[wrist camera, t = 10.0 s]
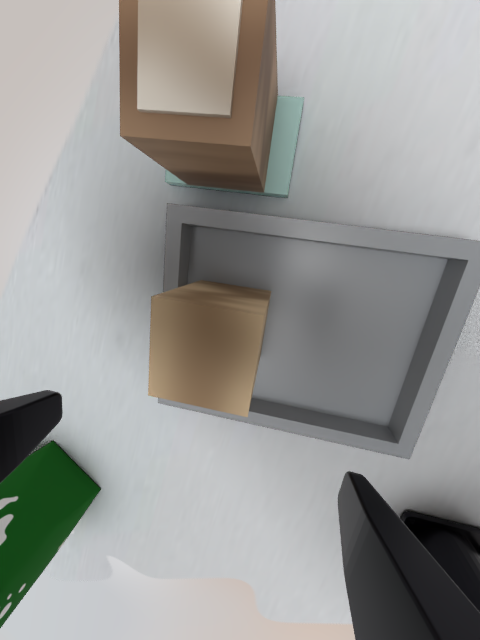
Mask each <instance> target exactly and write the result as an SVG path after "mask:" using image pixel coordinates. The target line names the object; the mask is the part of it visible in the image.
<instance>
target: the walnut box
mask: <svg viewBox="0 0 480 640" xmlns="http://www.w3.org/2000/svg"><path fill="white" fill-rule="evenodd" d="M119 43H120V136H121V137H122V138H124V139H125V140H127V141H128V142H129V143H131V144H132V145H133V146H135V147H136V148H138V149H139V150H140V151H142V152H143V153H145V154H146V155H147V156H149V157H150V158H151V159H153V160H154V161H156V162H157V163H158V164H160V165H161V166H162V167H164V168H165V169H167V170H168V171H169V172H171V173H172V174H173V175H175V176H176V177H178V178H179V179H180V180H182V181H183V182H184V183H186V184H187V185H195V186H204V187H214V188H223V189H233V190H243V191H252V192H262V193H264V190H265V183H266V176H267V169H268V162H269V154H270V147H271V140H272V133H273V126H274V119H275V112H276V105H277V97H278V89H277V52H276V14H275V0H119Z"/></svg>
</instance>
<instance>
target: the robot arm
mask: <svg viewBox="0 0 480 640" xmlns="http://www.w3.org/2000/svg"><path fill="white" fill-rule="evenodd" d="M61 418H62V396H61V394H60V393H58V392H54V391H50V390H45V391H41V392H36V393H32V394H28V395H23V396H19V397H15V398H10V399H6V400H2V401H0V483H1V482H2V481H3V480H4V479H5V478H6V477H7V476H9V475H10V474H11V473H12V472H13V471H14V470H15V469H16V468H17V467H18V466H19V465H20V464H21V463H22V462H23V461H24V460H25V459H26V457H27V456H28V455H29V454H30V453H31V452H32V451H33V450H34V449H35V448H36V447H37V446H38V445H39V443H40V442H41V441H42V440H43V439H44V438H45V437H46V436H47V435H48V434H49V433H50V432H51V430H52V429H53V428H54V427H55V426H56V425H57V424H58V423H59V422H60V420H61ZM338 511H339V522H340V534H341V546H342V557H343V567H344V576H345V582H346V588H347V594H348V600H349V605H350V611H351V617H352V622H353V628H354V634H355V639H356V640H480V529H479V528H475V527H470V526H466V525H462V524H458V523H454V522H450V521H446V520H442V519H438V518H434V517H430V516H426V515H422V514H418V513H414V512H405V513H404V514H403V515H402V518H401V519H400V518H399V517H398V516H397V514H396V513H395V512H394V511H393V510H392V508H391V507H390V506H389V505H388V504H387V503H386V501H385V500H384V499H383V498H382V497H381V496H380V494H379V493H378V492H377V491H376V490H375V488H374V487H373V486H372V485H371V484H370V483H369V481H368V480H367V479H366V478H365V477H364V476H363V475H361V474H357V473H354V472H350V471H349V472H347V473H346V474H345V476H344V479H343V482H342V485H341V488H340V491H339V494H338Z"/></svg>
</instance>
